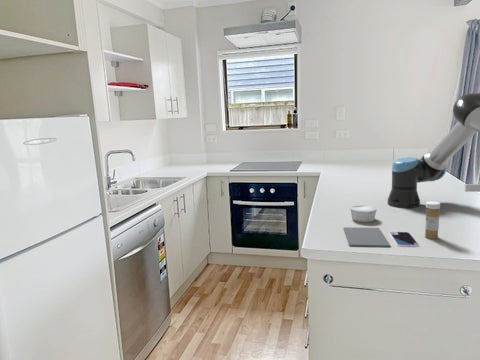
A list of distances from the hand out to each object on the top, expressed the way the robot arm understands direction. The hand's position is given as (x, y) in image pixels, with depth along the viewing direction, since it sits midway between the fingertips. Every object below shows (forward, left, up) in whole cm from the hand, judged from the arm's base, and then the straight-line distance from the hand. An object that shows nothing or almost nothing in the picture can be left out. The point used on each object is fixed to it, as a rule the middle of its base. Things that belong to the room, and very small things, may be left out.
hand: (473, 191), depth 128 cm
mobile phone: (+2, -24, -18) cm, 30 cm away
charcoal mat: (+1, -37, -18) cm, 41 cm away
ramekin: (-23, -34, -18) cm, 45 cm away
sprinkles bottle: (0, -13, -18) cm, 22 cm away
